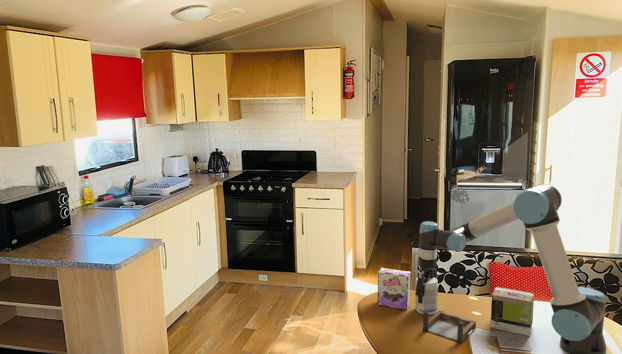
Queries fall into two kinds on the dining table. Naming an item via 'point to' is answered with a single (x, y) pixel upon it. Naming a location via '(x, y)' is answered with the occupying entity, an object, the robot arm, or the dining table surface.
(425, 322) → the keeper cradle
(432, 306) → the supplement tub
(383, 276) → the candy box
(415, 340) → the dining table surface
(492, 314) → the tea box
